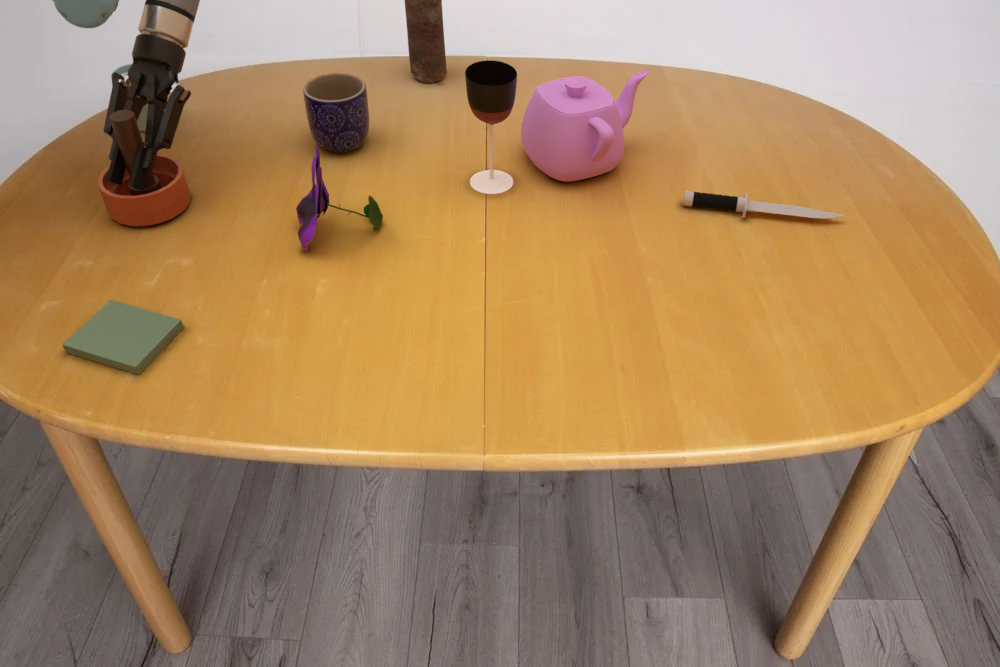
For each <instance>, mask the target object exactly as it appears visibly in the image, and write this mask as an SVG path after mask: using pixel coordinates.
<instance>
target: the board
mask: <svg viewBox="0 0 1000 667" xmlns="http://www.w3.org/2000/svg"><path fill="white" fill-rule="evenodd" d="M184 328H185V327H184V324H183V321H182V319H180V318H176V317H173V316H169V315H166V314H163V313H158V312H155V311H152V310H148V309H145V308H142V307H138V306H135V305H131V304H127V303H123V302H120V301H118V300H113V299H110V300H109V301H108V302H107V303H105V305H104V306H102V307H101V308H100V309H99V310H98V311H97V312H96V313H95V314H94V315H93V316H92V317H90V318H89V319H88V320H87V321H85V323H84V324H83V325H82V326H81V327H80V328H79V329H77V331H75V332H74V333H73V334H72V335H71V336H69V338H68V339H66V341H65V342H63V343H62V344H61V345H62V347H63V350H64V352H65V353H66V354H69V355H73V356H76V357H79V358H82V359H85V360H89V361H92V362H95V363H98V364H102V365H105V366H107V367H112V368H115V369H118V370H122V371H124V372H128V373H131V374H134V375H137V376H139V375H140V374H141V373H142V372H143V371H144V370H145V369H146V368H147V367H148V366H149V365H150V364H151V363H152V362H153V361H154V359H155V358H156V357H157V356H158V355H159V354H160V353H161V352H162V351H163V350H164V349H165V348H166V347H167V346H168V345H169V344H170V343H171V342H172V341H173V340H174V338H176V336H177V335H178V334H179V333H180V332H181V331H182V330H184Z"/></svg>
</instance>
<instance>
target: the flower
mask: <svg viewBox="0 0 1000 667" xmlns="http://www.w3.org/2000/svg"><path fill="white" fill-rule="evenodd" d="M310 169H311V172H310V173H311V183H312V186H311V189H310V190H309V191H308V193H307V194H306V195H305V196H304V197H302V198H301V200H300V201H299V203H298V204H297V206H296V208H295V210H296V215H297V219H298V222H299V223H298V224H299V226H300V227H299V229H298V231H297V236H298V240H299V244H300V245H301V246H300V247H302V248H303V250H304V251H306V252H309V247H308V245H307V244H309V243H310V242H312V240H313V238H314V236H315V234H316V231H317V230H316V229H317V226H318V224H317V223H318V219H319V218H320V216H321V217H322V216H324V215H325V214H326V212H327V210H328V208H329V207H331V208H334V209H337V210H339V211H340V210H341V211H344V212H349V213H348V214H347V216H349V215H350V214H351V213H353V214H356V215H359V216H361V217H364V218H367V219H368V220H369V221H370V222H369V223H370V224H371V225H372V226H373V230H375V229H376V230H377V229H381V228H382V224H383V222H384V221H383V220H384V218H383V217H384V214H383V213H382V211H381V209H380V206H379V204H378V202H377V201H376V200H375V198H373V196H371V195H368V198H367V199H368V204H365V206H364V207H363V214H362V213H360V212H358V211H355V210H351V209H345V208H342V207H341V204H339V205H338V206H336V205H333V204H330V193H329V191H328V189H327V187H326V185H325V181H324V179H323V171H322V170H323V169H322V167H321V152H320V146H319V145H318V143H316V144H315V154H314V155H313V156H312V161H311V168H310Z"/></svg>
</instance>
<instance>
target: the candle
mask: <svg viewBox="0 0 1000 667" xmlns="http://www.w3.org/2000/svg"><path fill="white" fill-rule="evenodd" d="M403 1H404V10H405V21H406V31H407V32H406V33H407V47H408V48H407V49H408V59H409V67H410V73H411V75H412V76H413V78H414V79H417V80H418V81H421V82H422V83H424V84H433V83H436V82H439V81H442V80H443V78H444V77H445V76H446V74H447V73H448V72H447V69H448V68H447V58H446V57H447V56H446V44H445V30H444V29H445V28H444V18H443V17H444V15H443V0H403Z"/></svg>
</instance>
